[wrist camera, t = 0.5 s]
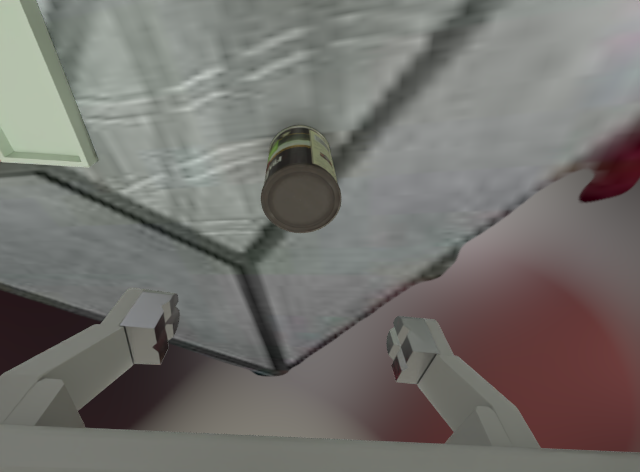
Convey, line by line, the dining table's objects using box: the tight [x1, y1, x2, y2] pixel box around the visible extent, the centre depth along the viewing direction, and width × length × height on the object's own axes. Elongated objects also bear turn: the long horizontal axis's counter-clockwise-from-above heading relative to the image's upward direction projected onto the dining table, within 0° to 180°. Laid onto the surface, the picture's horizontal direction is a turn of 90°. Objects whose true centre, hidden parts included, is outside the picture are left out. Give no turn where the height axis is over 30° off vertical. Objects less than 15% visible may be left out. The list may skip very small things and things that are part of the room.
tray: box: [0, 0, 98, 167], centre depth 38 cm, size 20×12×3 cm, turn 174°
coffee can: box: [261, 126, 341, 233], centre depth 43 cm, size 10×10×14 cm
